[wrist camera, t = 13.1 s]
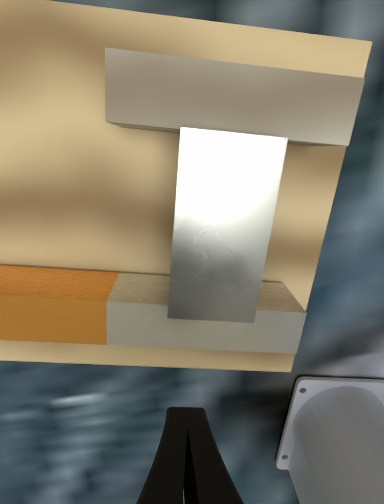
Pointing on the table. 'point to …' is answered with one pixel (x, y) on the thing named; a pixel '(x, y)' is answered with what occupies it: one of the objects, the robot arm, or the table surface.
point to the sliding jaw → (133, 313)
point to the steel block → (222, 223)
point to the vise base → (158, 147)
